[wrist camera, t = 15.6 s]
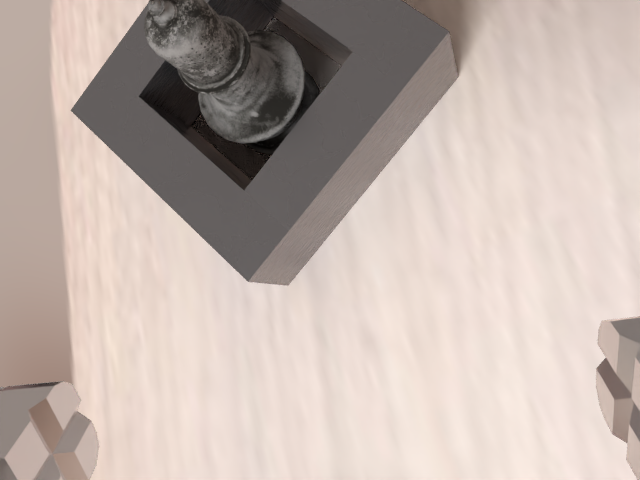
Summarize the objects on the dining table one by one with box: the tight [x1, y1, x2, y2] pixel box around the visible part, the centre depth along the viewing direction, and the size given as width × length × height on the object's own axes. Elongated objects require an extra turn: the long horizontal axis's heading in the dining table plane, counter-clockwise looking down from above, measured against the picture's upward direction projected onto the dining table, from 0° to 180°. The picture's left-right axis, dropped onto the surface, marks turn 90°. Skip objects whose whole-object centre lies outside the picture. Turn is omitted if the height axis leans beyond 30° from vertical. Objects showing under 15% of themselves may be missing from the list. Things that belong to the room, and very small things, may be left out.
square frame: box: [71, 0, 458, 285], centre depth 29 cm, size 14×14×5 cm
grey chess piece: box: [144, 0, 319, 155], centre depth 26 cm, size 6×6×12 cm
